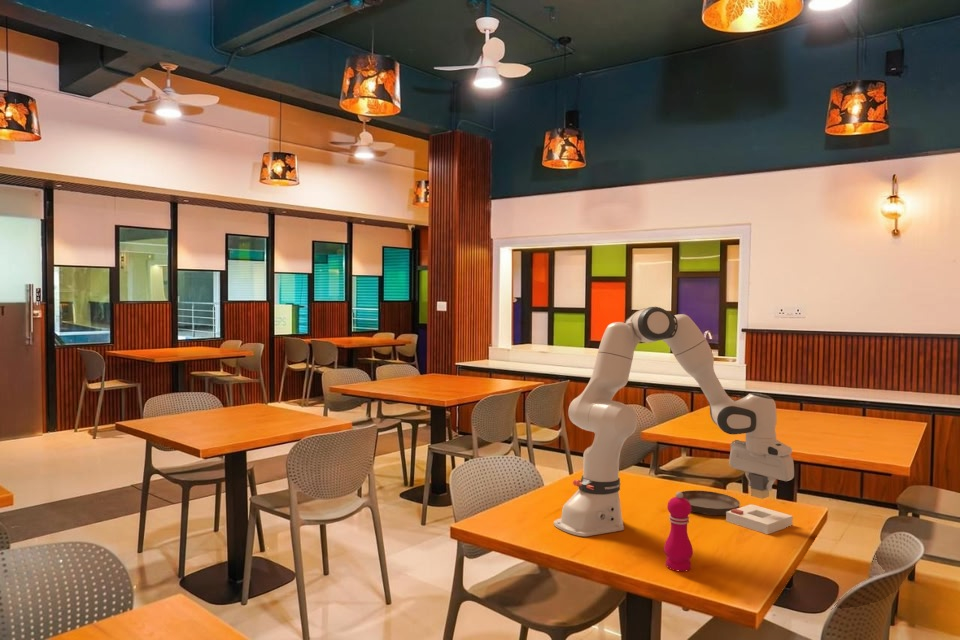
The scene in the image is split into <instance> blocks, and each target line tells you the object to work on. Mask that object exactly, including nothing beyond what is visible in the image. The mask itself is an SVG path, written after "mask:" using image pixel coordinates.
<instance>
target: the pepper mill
mask: <svg viewBox="0 0 960 640" xmlns="http://www.w3.org/2000/svg"><path fill="white" fill-rule="evenodd" d="M682 492H683V491H677V492H676V493H675V496H676V497H672V498H670V499H669V501H668V502H667V510H668V511H667V512H668V513H669V515H668V517H669V519H668V520H669V522H670V531H669V534H668V536H667V538H666V541H665V543H664V549H663V551H664V554H665V555H666V559H665V566H666V567H667V566H668V567H669V568H671V569H674V570H679V571H685V572H687V571H686V570H689V569H690V568H691V567H692V562H691V558H692V557H693V554H694V549H693V545H692V543H691V540H690V538H689V535H688V534H689V533H688V524H689V523H690V517H689V515H690V514H691V512H692V511H691V504H690V502H689V501H688V500H687V499H685V498H682V497H683V493H682ZM669 568H668V569H669ZM671 569H670V570H671ZM690 570H691V569H690ZM690 570H689V571H690ZM679 571H678V572H679Z"/></svg>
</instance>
